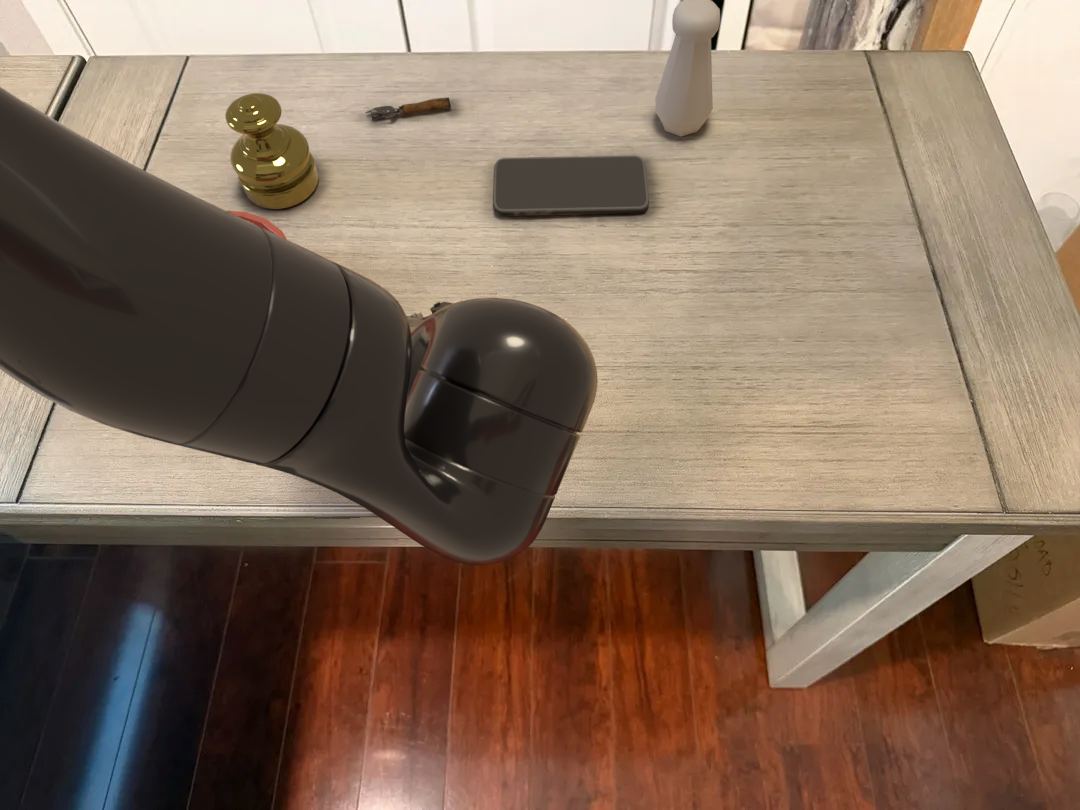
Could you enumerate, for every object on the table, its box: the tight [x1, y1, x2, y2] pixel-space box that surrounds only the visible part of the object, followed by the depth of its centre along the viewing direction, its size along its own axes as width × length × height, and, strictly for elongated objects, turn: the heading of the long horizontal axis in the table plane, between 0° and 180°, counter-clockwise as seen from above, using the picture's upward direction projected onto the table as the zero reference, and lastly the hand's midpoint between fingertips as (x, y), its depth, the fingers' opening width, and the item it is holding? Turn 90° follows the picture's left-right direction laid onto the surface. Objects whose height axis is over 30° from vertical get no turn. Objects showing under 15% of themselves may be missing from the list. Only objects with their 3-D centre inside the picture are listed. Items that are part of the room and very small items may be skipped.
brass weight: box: [224, 92, 319, 210], centre depth 77 cm, size 7×7×10 cm
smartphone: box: [492, 155, 650, 217], centre depth 79 cm, size 7×1×15 cm
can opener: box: [365, 97, 452, 121], centre depth 85 cm, size 9×2×1 cm, turn 94°
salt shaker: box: [654, 0, 721, 137], centre depth 78 cm, size 6×6×13 cm
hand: (356, 354), depth 63 cm, fingers open, 7 cm apart
